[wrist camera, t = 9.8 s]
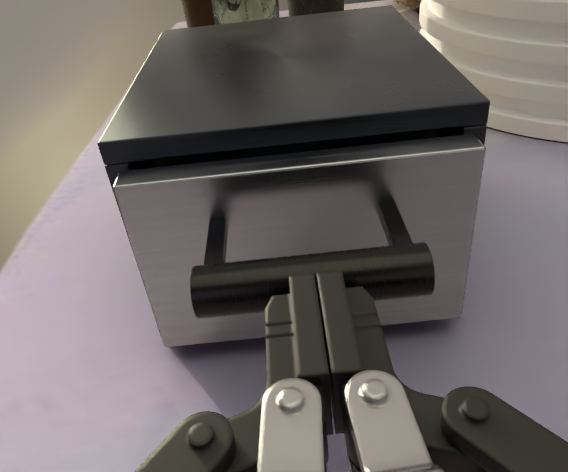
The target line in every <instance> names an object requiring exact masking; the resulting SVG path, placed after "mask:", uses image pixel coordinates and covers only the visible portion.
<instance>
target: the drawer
mask: <svg viewBox="0 0 568 472" xmlns="http://www.w3.org/2000/svg"><path fill="white" fill-rule="evenodd" d="M485 150H486V148H485V146H484V145H483V144H482V143H481V142H480V140H479V139H478V138H477V137H476V136H475V134H465V135H456V136H446V137H438V130H428V131H419V132H410V133H400V134H391V135H381V136H372V137H363V138H353V139H344V140H335V141H325V142H316V143H307V144H297V145H288V146H278V147H269V148H260V149H250V150H241V151H232V152H222V153H213V154H203V155H194V156H185V157H175V158H166V159H157V160H151V162H152V166H153V168H146V169H136V170H127V171H120V172H119V174H118V176H117V178H116V180H115V183H114V185H113V191H114V194H115V197H116V200H117V203H118V206H119V209H120V212H121V215H122V218H123V221H124V224H125V227H126V230H127V233H128V236H129V239H130V242H131V246H132V249H133V252H134V255H135V258H136V261H137V264H138V267H139V270H140V273H141V276H142V279H143V282H144V285H145V288H146V291H147V294H148V297H149V300H150V303H151V306H152V309H153V312H154V315H155V318H156V321H157V324H158V327H159V330H160V333H161V336H162V339H163V342H164V345H165V347H175V346H185V345H194V344H204V343H214V342H224V341H234V340H244V339H254V338H264V337H266V334H265V327H266V326H265V308H266V306H267V304H268V303H269V301H270V299H271V297H272V296H275V295H284V294H290V285H289V276H291V275H300V274H310V273H314V276H315V283H316V290H317V282H316V273H319V272H328V271H338V270H341V271H342V274H343V278H344V283H345V287H346V288H351V287H361V286H362V287H363V288H364V289H365V290H366V291H367V292H368V293H369V294H370V295H371V296H372V297H373V299H374V303H375V306H376V310H377V315H378V317H379V320H380V324H381V326H383V325H393V324H403V323H413V322H423V321H433V320H442V319H452V318H460V317H461V314H462V307H463V300H464V293H465V287H466V280H467V273H468V266H469V259H470V252H471V246H472V239H473V232H474V225H475V218H476V211H477V204H478V198H479V191H480V184H481V177H482V170H483V163H484V156H485Z"/></svg>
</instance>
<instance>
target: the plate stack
mask: <svg viewBox="0 0 568 472" xmlns="http://www.w3.org/2000/svg"><path fill="white" fill-rule="evenodd" d="M419 22H420V25H421V27H422V28H421V30H420V31H419V33H420V34H421V35H422V36H424V37H425V38H426V39H427V40H428V41H429V42H430V43H431V44H432V45H433V46H434V47H435V48H436V49H437V50H438V51H439V52H440V53H441V54H442V55H443V56H444V57H445V58H446V59H447V60H448V61H449V62H450V63H451V64H452V65H454V66H455V67H456V68H457V69H458V70H459V71H460V72H461V73H462V74H463V75H464V76H465V77H466V78H467V79H468V80H469V81H470V82H471V83H472V84H473V85H474V86H475V87H476V88H477V89H478V90H479V91H480V92H481V93H482V94H483V95H485V96H486V97H487V98H488V99H489V100H490V107H489V114H488V121H487V124H486V125H487V127H490V128H494V129H497V130H501V131H505V132H510V133H514V134H519V135H524V136H529V137H534V138H540V139H546V140H553V141H561V142H568V0H422V1H421V3H420V13H419Z"/></svg>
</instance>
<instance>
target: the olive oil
mask: <svg viewBox="0 0 568 472" xmlns="http://www.w3.org/2000/svg"><path fill="white" fill-rule="evenodd" d="M182 5H183V9H184V14H185V18H186V22H187V27H188V28H191V27H200V26H209V25H218V24H227V23H236V22H245V21H254V20H263V19H272V18H279V5H278V0H182Z"/></svg>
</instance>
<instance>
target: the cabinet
mask: <svg viewBox="0 0 568 472" xmlns="http://www.w3.org/2000/svg"><path fill="white" fill-rule="evenodd" d="M489 107H490V100H489V99H488V98H487V97H486V96H485V95H483V94H482V93H481V92H480V91H479V90H478V89H477V88H476V87H475V86H474V85H473V84H472V83H471V82H470V81H469V80H468V79H467V78H466V77H465V76H464V75H463V74H462V73H461V72H460V71H459V70H458V69H457V68H456V67H455V66H454V65H452V64H451V63H450V62H449V61H448V60H447V59H446V58H445V57H444V56H443V55H442V54H441V53H440V52H439V51H438V50H437V49H436V48H435V47H434V46H433V45H432V44H431V43H430V42H429V41H428V40H427V39H426V38H425V37H424V36H422V35H421V34H420V33H419V32H418V31H417V30H416V29H415V28H414V27H413V26H412V25H411V24H410V23H409V22H408V21H407V20H406V19H405V18H404V17H403V16H402V15H401V14H400V13H399V12H398V11H397V10H396V9H395V8H394V7H392V6H391V5H390V6H381V7H372V8H363V9H354V10H345V11H336V12H327V13H318V14H309V15H300V16H291V17H282V18H272V19H263V20H254V21H245V22H236V23H227V24H218V25H209V26H200V27H191V28H182V29H173V30H164V31H162V33H161V35H160V37H159V38H158V40H157V42H156V43H155V45H154V47H153V49H152V50H151V52H150V54H149V56H148V57H147V59H146V61H145V62H144V64H143V66H142V68H141V69H140V71H139V73H138V74H137V76H136V78H135V80H134V81H133V83H132V85H131V87H130V88H129V90H128V92H127V93H126V95H125V97H124V99H123V100H122V102H121V104H120V105H119V107H118V109H117V111H116V112H115V114H114V116H113V118H112V119H111V121H110V123H109V124H108V126H107V128H106V130H105V131H104V133H103V135H102V136H101V138H100V140H99V142H98V146H99V149H100V153H101V156H102V159H103V162H104V164H105V168H106V171H107V174H108V177H109V180H110V183H111V186H112V189H113V185H114V183H115V180H116V178H117V176H118V174H119V172H120V171H127V170H136V169H146V168H153V166H152V162H151V160H157V159H166V158H175V157H185V156H194V155H203V154H213V153H222V152H232V151H241V150H250V149H260V148H269V147H278V146H288V145H297V144H307V143H316V142H325V141H335V140H344V139H353V138H363V137H372V136H381V135H391V134H400V133H410V132H419V131H428V130H438V137H446V136H456V135H465V134H475V136H476V137H477V138H478V139H479V140H480V142H481V143H482V144H483V145H484V142H485V135H486V128H487V125H486V124H487V121H488V114H489ZM113 192H114V191H113ZM114 195H115V194H114ZM115 198H116V197H115ZM116 201H117V200H116ZM117 204H118V203H117ZM118 207H119V206H118ZM119 210H120V209H119ZM120 213H121V212H120ZM121 217H122V215H121ZM122 220H123V218H122ZM123 223H124V221H123ZM124 226H125V224H124ZM125 229H126V227H125ZM126 232H127V230H126ZM127 235H128V233H127ZM128 238H129V236H128ZM129 241H130V239H129ZM130 244H131V242H130ZM131 247H132V246H131ZM132 250H133V249H132ZM133 253H134V252H133ZM134 256H135V255H134ZM135 259H136V258H135ZM136 262H137V261H136ZM137 265H138V264H137ZM138 268H139V267H138ZM139 271H140V270H139ZM140 274H141V273H140ZM141 277H142V276H141ZM142 280H143V279H142ZM143 283H144V282H143ZM144 286H145V285H144ZM145 289H146V288H145ZM146 292H147V291H146ZM147 295H148V294H147ZM148 298H149V297H148ZM149 301H150V300H149ZM150 304H151V303H150ZM151 307H152V306H151ZM152 310H153V309H152ZM153 313H154V312H153ZM154 316H155V315H154ZM155 319H156V318H155ZM156 322H157V321H156ZM157 325H158V324H157ZM158 328H159V327H158ZM159 331H160V330H159ZM160 335H161V333H160ZM161 337H162V336H161Z"/></svg>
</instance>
